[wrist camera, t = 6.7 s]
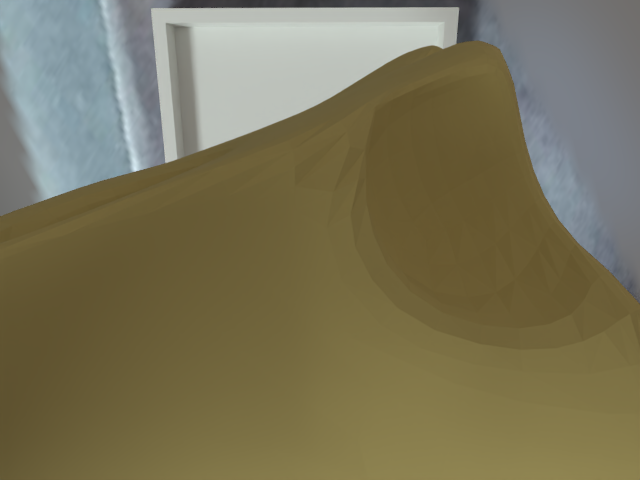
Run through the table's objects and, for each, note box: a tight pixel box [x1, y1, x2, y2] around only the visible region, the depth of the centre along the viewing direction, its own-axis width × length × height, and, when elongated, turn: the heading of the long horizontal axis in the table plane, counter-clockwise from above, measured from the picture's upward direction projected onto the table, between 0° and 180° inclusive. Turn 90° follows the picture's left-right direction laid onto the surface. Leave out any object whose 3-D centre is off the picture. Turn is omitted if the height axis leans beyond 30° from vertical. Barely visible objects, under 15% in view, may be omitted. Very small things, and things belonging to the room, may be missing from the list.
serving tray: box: [151, 7, 459, 163], centre depth 32 cm, size 17×19×2 cm
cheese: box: [0, 41, 640, 480], centre depth 10 cm, size 10×11×10 cm
